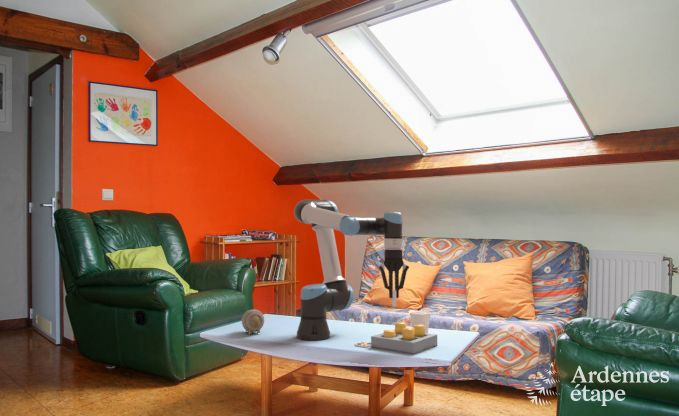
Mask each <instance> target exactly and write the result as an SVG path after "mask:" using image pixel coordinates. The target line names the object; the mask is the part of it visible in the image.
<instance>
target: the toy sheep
mask: <svg viewBox="0 0 679 416" xmlns="http://www.w3.org/2000/svg"><path fill="white" fill-rule="evenodd" d="M241 325H242V327H243V329H244V330H245V332H246V331H248V332H247V333H248V335H249V334H251V335H252V333H256V334H257V333H260V334H261V329H262V328H263V327H264V325H265V316H264V314H263V313H262V312H261V311H260V310H258V309H254V308H253V309H248V310H247V311H245V312H244V313H243V315H242V317H241Z"/></svg>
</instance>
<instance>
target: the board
mask: <svg viewBox="0 0 679 416" xmlns="http://www.w3.org/2000/svg"><path fill="white" fill-rule="evenodd" d="M393 330H394V331H395V329H393ZM370 343H371V346H370V347H371V348H374V349H381V350H385V351H392V352H398V353H405V354H410V355H415V354H417V353H421V352H424V351H426V350H429V349H431V348H434V347H436V346H438V334H435V333H429V332H428V333H425V336H424V337H417V336H414V340H412V341H409V340H403V337H402V334H396V333H395V337H394V338H388V337H384V332H382V333H379V334H375V335H372V336H370Z"/></svg>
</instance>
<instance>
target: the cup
mask: <svg viewBox="0 0 679 416" xmlns="http://www.w3.org/2000/svg"><path fill="white" fill-rule="evenodd" d="M408 313H409V316H410V317H409V318H410V322H411V328H413V325H425V333H428V334H429V326H430V322H431V316H432V312H430V311H429V310H428V311H427V310H426V311H425V310H413V311H409V312H408Z"/></svg>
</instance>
